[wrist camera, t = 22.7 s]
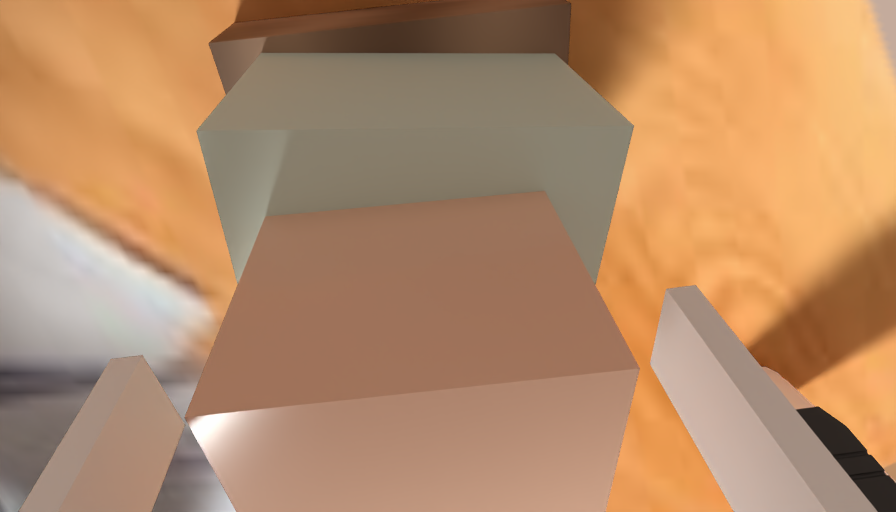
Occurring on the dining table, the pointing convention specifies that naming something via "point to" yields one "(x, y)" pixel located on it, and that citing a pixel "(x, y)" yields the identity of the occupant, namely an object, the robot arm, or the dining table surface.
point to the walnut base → (401, 32)
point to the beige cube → (416, 365)
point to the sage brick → (412, 139)
